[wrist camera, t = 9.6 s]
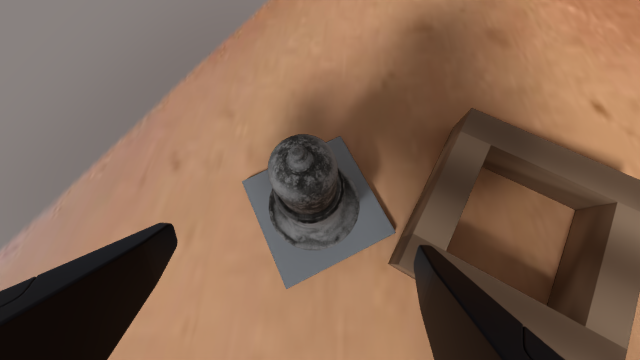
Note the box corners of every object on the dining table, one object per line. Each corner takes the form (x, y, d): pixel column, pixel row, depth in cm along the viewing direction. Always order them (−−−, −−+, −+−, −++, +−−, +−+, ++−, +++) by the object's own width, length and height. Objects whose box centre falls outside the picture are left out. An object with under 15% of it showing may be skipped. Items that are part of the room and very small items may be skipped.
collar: (569, 368, 17) (618, 390, 14) (388, 263, 19) (398, 264, 16) (614, 199, 20) (661, 189, 17) (453, 127, 22) (471, 107, 19)
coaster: (287, 288, 19) (286, 289, 18) (244, 183, 21) (241, 181, 21) (393, 233, 20) (395, 232, 19) (340, 139, 22) (340, 136, 22)
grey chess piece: (282, 256, 19) (206, 253, 8) (276, 181, 21) (208, 85, 9) (360, 246, 19) (405, 228, 7) (348, 172, 21) (370, 64, 9)
